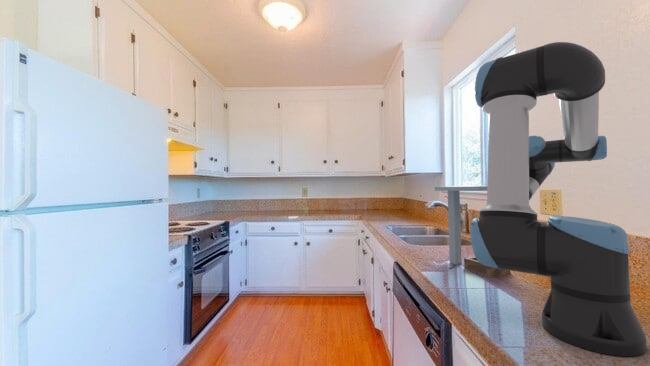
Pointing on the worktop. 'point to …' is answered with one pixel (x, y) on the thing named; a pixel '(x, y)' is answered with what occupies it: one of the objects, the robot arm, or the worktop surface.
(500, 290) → the worktop surface
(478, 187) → the grey t-shaped post
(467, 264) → the socket block
